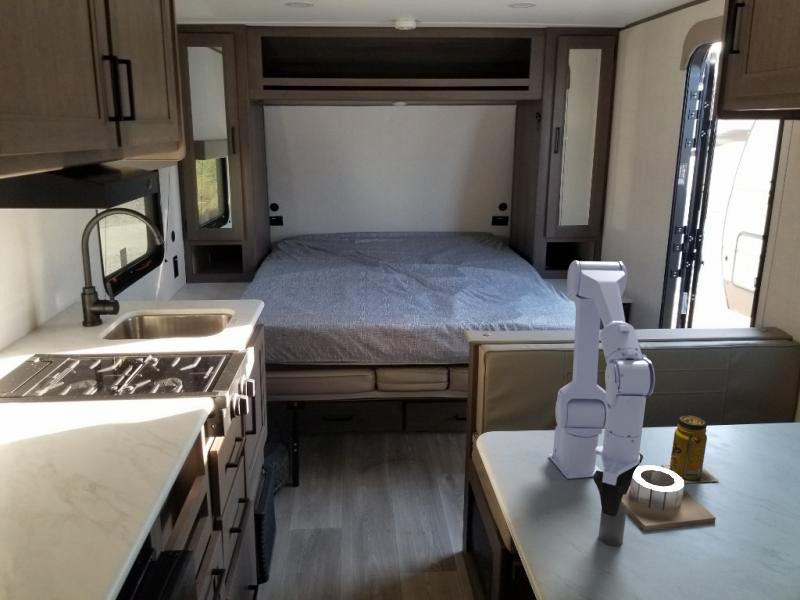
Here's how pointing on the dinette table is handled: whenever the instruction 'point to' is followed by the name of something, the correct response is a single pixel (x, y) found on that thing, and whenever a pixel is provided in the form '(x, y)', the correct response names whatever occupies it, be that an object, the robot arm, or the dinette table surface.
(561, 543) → the dinette table surface
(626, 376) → the robot arm
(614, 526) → the dark rounded capsule
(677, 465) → the condiment
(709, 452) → the dinette table surface
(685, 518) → the walnut board
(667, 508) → the white faceted ring
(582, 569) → the dinette table surface
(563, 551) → the dinette table surface
